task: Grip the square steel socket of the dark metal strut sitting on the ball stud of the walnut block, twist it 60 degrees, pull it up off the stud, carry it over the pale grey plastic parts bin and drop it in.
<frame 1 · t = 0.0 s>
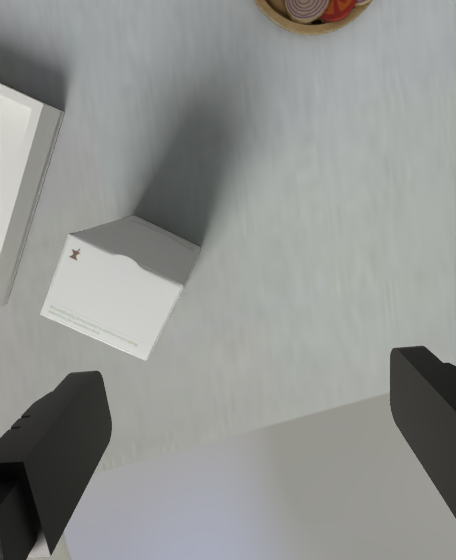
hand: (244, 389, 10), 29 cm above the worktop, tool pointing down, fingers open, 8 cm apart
skincare box: (158, 255, 40), on the worktop
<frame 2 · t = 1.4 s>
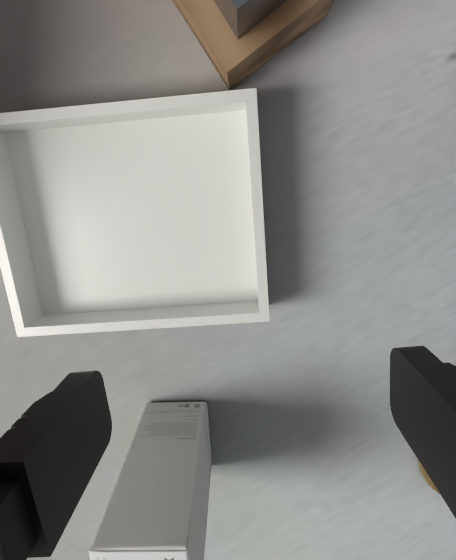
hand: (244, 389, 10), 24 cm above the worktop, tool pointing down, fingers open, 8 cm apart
skincare box: (182, 434, 39), on the worktop
bin: (139, 219, 33), on the worktop
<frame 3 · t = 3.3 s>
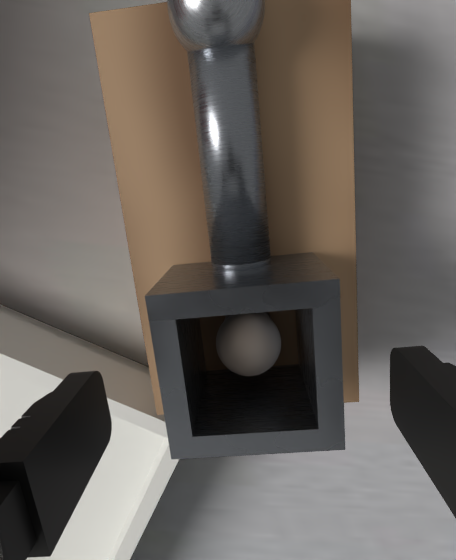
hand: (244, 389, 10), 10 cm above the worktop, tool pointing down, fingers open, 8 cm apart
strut: (247, 324, 16), point 5 cm above the worktop, touching stud block
stud block: (240, 218, 19), on the worktop
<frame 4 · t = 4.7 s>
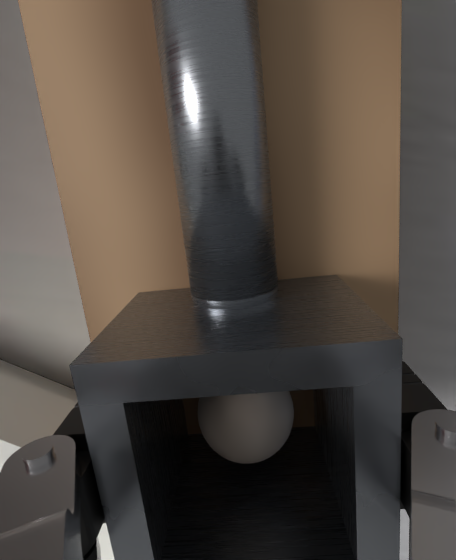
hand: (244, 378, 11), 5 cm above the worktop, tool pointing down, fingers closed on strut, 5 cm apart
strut: (244, 372, 11), point 5 cm above the worktop, touching gripper, stud block
stud block: (234, 222, 15), on the worktop
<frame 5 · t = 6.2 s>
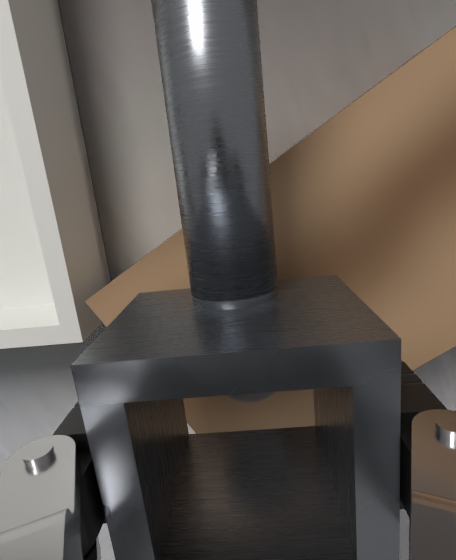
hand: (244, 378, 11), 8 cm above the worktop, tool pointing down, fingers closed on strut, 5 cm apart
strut: (245, 373, 11), point 7 cm above the worktop, touching gripper
stud block: (315, 249, 18), on the worktop
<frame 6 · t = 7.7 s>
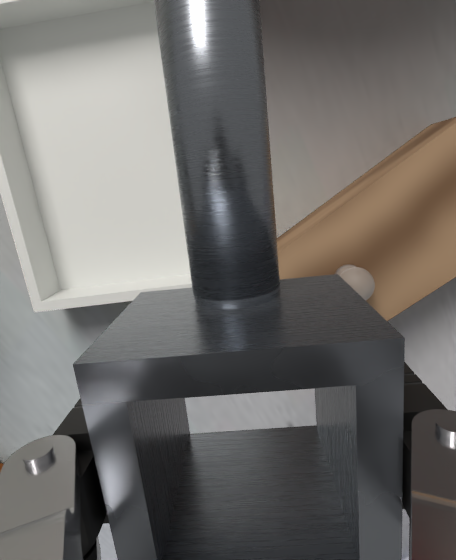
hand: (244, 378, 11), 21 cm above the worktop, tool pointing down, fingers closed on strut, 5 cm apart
bin: (129, 157, 30), on the worktop
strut: (246, 372, 11), point 21 cm above the worktop, touching gripper
stud block: (372, 234, 31), on the worktop
when the fingers open (4 cm above the worktop, at t = 11.0 s): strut drops 3 cm, resting on bin.
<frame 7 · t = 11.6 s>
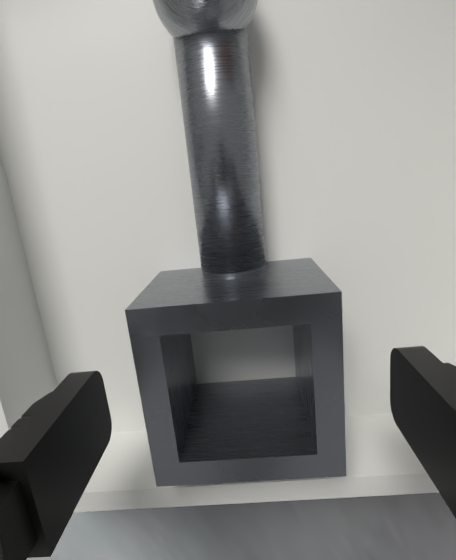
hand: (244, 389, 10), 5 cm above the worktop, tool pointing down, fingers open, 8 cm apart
bin: (231, 175, 14), on the worktop
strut: (241, 334, 14), point 1 cm above the worktop, touching bin
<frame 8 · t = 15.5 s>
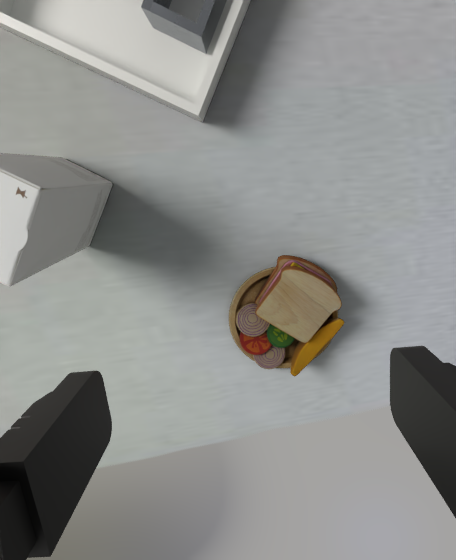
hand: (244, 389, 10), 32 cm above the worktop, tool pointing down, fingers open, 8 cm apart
skincare box: (77, 205, 41), on the worktop
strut: (190, 10, 35), point 1 cm above the worktop, touching bin
toy sandwich meal: (281, 309, 44), on the worktop
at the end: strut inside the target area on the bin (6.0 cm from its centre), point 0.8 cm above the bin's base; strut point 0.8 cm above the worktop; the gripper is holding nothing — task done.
